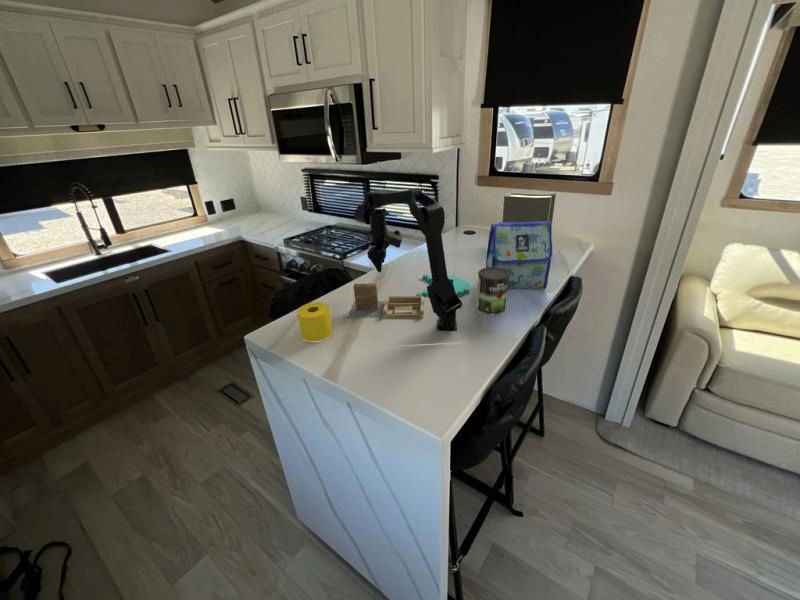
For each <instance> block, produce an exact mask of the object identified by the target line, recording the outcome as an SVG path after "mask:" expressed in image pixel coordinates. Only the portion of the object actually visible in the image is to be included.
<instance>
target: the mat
mask: <svg viewBox="0 0 800 600" xmlns="http://www.w3.org/2000/svg"><path fill="white" fill-rule="evenodd" d="M385 302H386V300H385V301H379V300H378V310H356V303H355V301H353V304H352V305H351V307H350V308H351V309H350V311H349V312H348V313H349V314H347V315H348V316H347V319H349V318H352V319H353V318H356V319H357V318H359V319H360V318H361V319H362V318H363V319H364V318H370V319H372V318H373V319H374V318H375V319H376V318H378V319H380V318H382V316H383V310H384V306H385Z"/></svg>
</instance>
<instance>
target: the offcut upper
mask: <svg viewBox="0 0 800 600" xmlns="http://www.w3.org/2000/svg"><path fill="white" fill-rule="evenodd" d="M394 314H414V313H413V308H412V306H404V307H395V308H394Z"/></svg>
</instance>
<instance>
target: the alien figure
mask: <svg viewBox="0 0 800 600" xmlns="http://www.w3.org/2000/svg"><path fill="white" fill-rule="evenodd" d="M447 276H448V279H449V280H450V281H451V282H452V283H453V285H454V289H455V293H456V294H457V296H458V297H464V295H465V294H467V295H469V294H470V290H471V289H470V286H471V285H470V284H471V282H467V281H465V279H460V277H457V276H456V277H455V275H454V274H447ZM422 280H423V281H426V282H427V283H432V275H431V276H430V275H429V273H423V274H422ZM415 296H424V297H428V291H427V289H423V290H422V292H418V291H417V292H416V294H415Z"/></svg>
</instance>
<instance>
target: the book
mask: <svg viewBox="0 0 800 600" xmlns="http://www.w3.org/2000/svg"><path fill="white" fill-rule="evenodd" d="M556 194H557V193H556V192H555V193H554V192H553V193H530V192H528V193H527V192H507V193H506V194H505V195H504V196H503V207H502V208H503V209H502V211H503V212H502V222H505V223H520V222H551V226H552V225H553V219H554V212H555V211H554V210H555V204H556V203H555V202H556V196H557V195H556Z"/></svg>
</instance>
